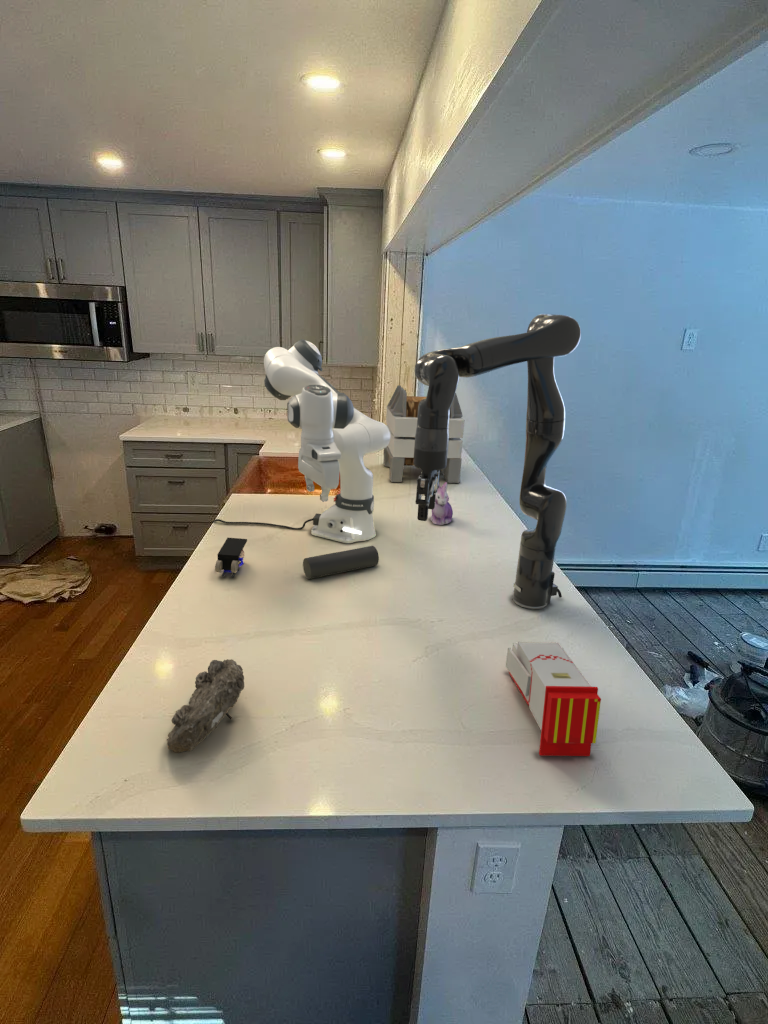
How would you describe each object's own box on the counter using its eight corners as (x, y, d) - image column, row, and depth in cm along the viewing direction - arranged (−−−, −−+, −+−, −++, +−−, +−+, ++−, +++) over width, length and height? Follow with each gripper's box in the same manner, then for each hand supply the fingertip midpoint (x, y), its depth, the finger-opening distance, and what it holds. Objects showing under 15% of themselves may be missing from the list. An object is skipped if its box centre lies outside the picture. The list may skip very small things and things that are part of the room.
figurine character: (238, 584, 162) (249, 557, 175) (236, 562, 158) (247, 536, 172) (215, 584, 161) (227, 556, 175) (212, 561, 158) (225, 535, 171)
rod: (310, 582, 162) (310, 563, 160) (302, 573, 167) (302, 554, 165) (378, 568, 173) (379, 550, 171) (369, 560, 178) (369, 542, 176)
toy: (554, 624, 127) (610, 694, 97) (548, 679, 130) (602, 763, 100) (500, 623, 126) (541, 693, 97) (496, 678, 129) (534, 763, 100)
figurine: (438, 527, 207) (441, 488, 202) (423, 518, 216) (426, 480, 211) (459, 523, 211) (463, 485, 206) (444, 514, 220) (447, 477, 215)
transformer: (382, 463, 289) (386, 382, 275) (445, 464, 293) (451, 384, 279) (390, 482, 257) (394, 392, 243) (460, 483, 261) (468, 394, 247)
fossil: (192, 660, 117) (244, 628, 112) (224, 691, 120) (276, 661, 115) (142, 746, 98) (202, 712, 93) (182, 779, 101) (242, 748, 96)
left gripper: (292, 439, 160) (292, 486, 165) (321, 456, 143) (321, 508, 148) (313, 438, 163) (313, 484, 168) (344, 454, 146) (343, 505, 151)
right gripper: (441, 455, 119) (436, 526, 125) (453, 441, 132) (447, 507, 138) (407, 451, 121) (403, 522, 126) (421, 438, 134) (417, 503, 139)
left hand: (317, 495), depth 158 cm, fingers open, 8 cm apart
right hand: (426, 514), depth 132 cm, fingers open, 8 cm apart
